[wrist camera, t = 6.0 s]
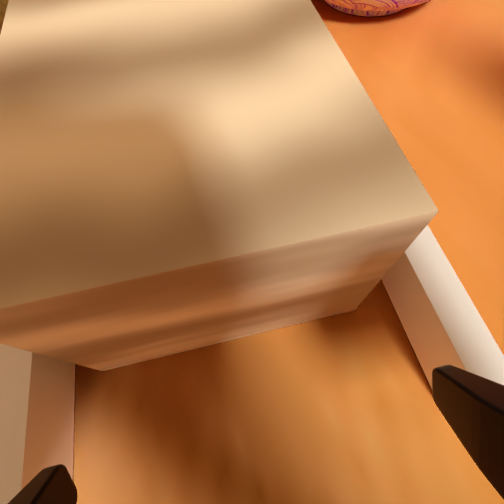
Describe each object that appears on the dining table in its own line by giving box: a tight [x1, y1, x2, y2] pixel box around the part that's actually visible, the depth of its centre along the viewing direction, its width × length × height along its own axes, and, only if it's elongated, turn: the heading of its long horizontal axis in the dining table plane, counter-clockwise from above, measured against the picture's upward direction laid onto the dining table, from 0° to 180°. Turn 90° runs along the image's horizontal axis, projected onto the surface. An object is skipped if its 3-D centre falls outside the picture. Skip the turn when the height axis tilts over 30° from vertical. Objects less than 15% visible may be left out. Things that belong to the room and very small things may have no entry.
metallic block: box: [0, 0, 439, 371], centre depth 15 cm, size 16×12×8 cm
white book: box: [0, 225, 504, 504], centre depth 16 cm, size 23×18×4 cm
